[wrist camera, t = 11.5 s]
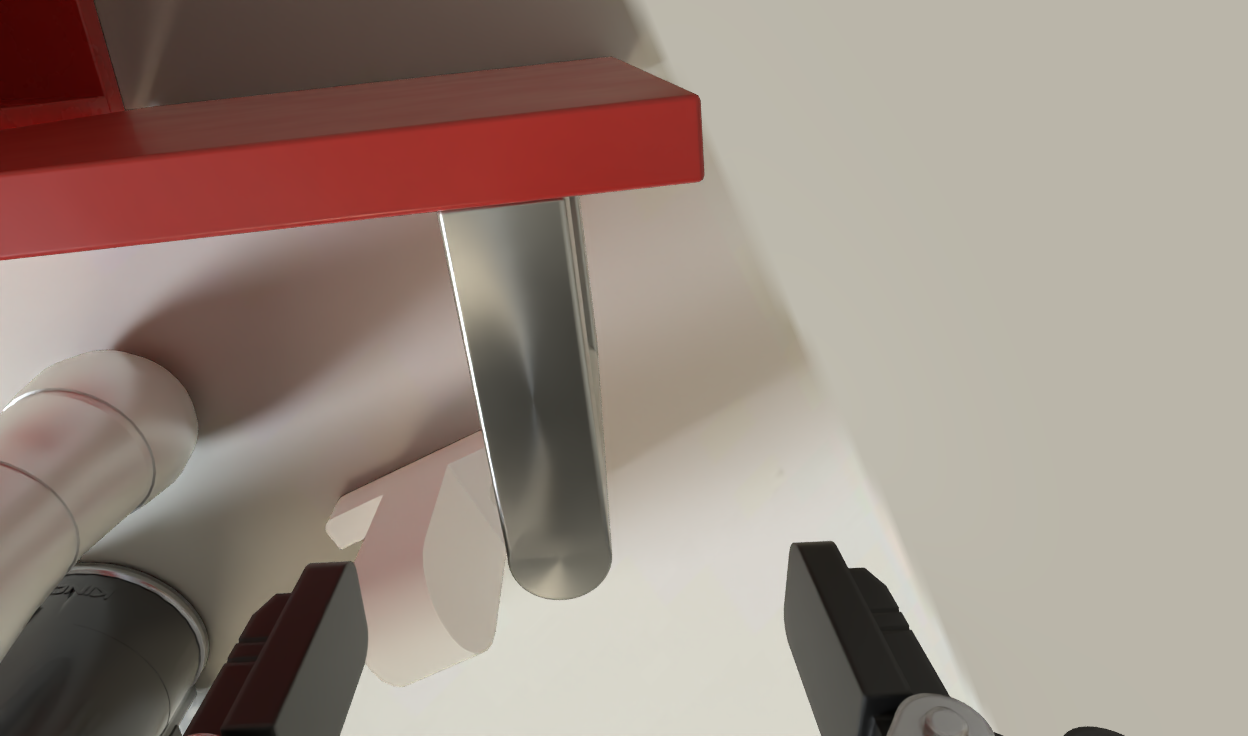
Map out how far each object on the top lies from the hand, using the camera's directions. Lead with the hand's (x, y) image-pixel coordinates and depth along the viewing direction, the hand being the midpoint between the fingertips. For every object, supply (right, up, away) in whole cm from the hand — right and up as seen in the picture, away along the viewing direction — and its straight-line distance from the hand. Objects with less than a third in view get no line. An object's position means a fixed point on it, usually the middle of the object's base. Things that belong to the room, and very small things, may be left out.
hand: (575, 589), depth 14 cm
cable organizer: (-8, -2, +23) cm, 24 cm away
